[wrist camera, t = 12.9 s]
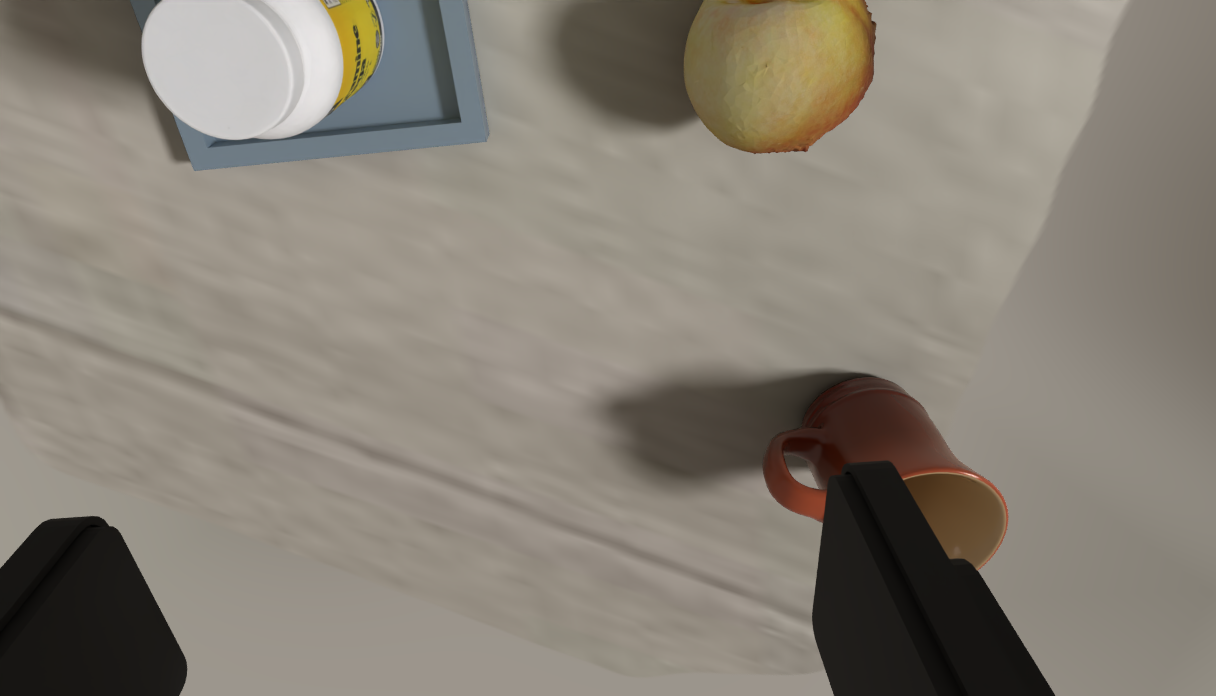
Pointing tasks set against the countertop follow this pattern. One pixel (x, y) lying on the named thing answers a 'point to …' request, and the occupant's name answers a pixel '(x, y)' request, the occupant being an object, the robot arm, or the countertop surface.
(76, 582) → the robot arm
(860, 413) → the mug
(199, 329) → the countertop surface
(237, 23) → the pill bottle
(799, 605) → the countertop surface
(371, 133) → the tray
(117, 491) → the countertop surface
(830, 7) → the fruit
